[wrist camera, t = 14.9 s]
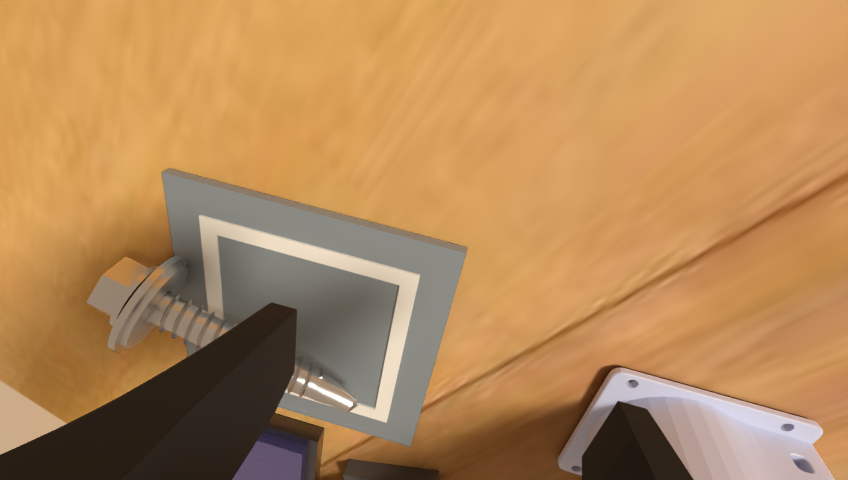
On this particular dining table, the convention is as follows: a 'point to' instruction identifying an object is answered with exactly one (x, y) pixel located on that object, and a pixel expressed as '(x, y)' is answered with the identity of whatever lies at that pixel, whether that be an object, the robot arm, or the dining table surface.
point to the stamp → (385, 472)
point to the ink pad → (284, 452)
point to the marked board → (322, 292)
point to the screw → (185, 320)
